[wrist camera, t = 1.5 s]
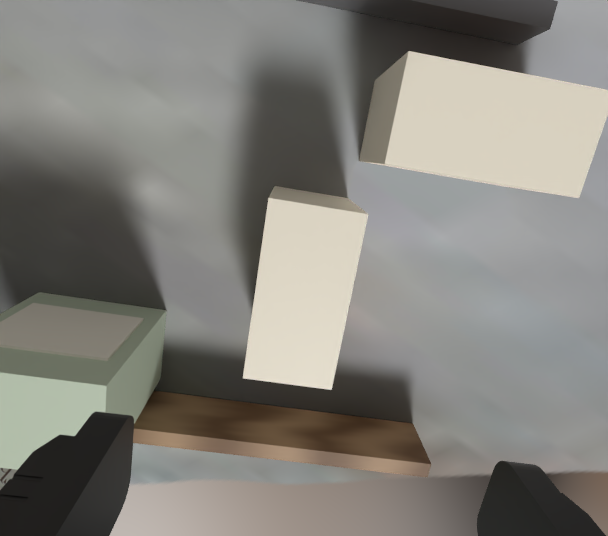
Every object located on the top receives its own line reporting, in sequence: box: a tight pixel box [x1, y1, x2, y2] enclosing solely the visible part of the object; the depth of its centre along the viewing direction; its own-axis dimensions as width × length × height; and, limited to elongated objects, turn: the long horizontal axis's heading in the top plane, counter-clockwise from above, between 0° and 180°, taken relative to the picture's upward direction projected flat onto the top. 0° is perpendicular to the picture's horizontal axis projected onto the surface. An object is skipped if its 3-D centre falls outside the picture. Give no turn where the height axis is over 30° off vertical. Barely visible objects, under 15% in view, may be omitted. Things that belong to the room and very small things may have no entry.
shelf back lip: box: [133, 391, 431, 477], centre depth 27 cm, size 26×1×4 cm, turn 80°
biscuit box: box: [243, 186, 368, 390], centre depth 23 cm, size 5×9×7 cm, turn 171°
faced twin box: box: [359, 51, 608, 198], centre depth 21 cm, size 5×9×7 cm, turn 80°
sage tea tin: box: [0, 292, 167, 470], centre depth 23 cm, size 8×5×9 cm, turn 81°
